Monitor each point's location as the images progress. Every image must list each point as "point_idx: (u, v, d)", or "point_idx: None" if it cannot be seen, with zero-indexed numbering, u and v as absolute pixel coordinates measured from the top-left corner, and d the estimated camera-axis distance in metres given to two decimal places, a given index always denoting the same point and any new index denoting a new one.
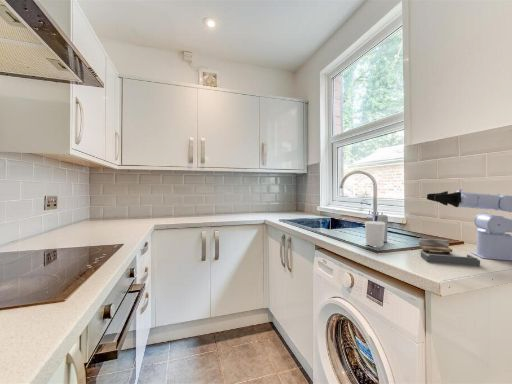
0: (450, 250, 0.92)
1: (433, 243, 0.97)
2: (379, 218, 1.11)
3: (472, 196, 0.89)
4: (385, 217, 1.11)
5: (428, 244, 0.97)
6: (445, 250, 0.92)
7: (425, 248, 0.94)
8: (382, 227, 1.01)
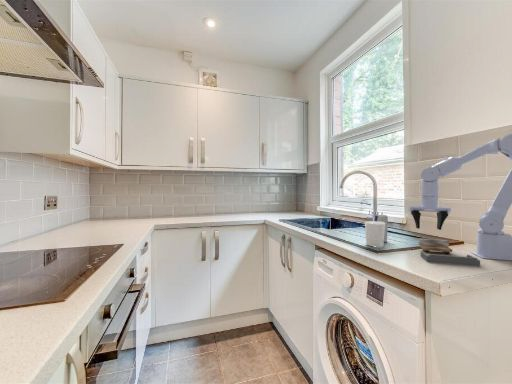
0: (450, 250, 0.92)
1: (433, 243, 0.97)
2: (379, 218, 1.11)
3: None
4: (385, 217, 1.11)
5: (428, 244, 0.97)
6: (445, 250, 0.92)
7: (425, 248, 0.94)
8: (382, 227, 1.01)
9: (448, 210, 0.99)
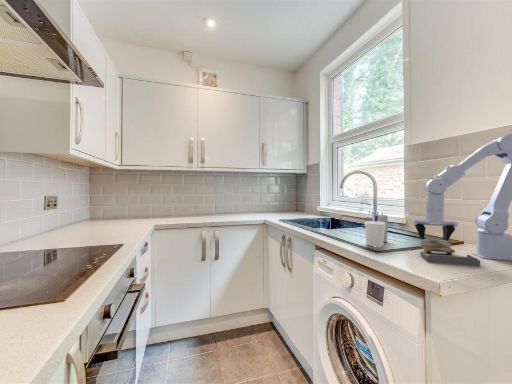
0: (452, 251, 0.90)
1: (435, 244, 0.95)
2: (379, 218, 1.11)
3: None
4: (385, 217, 1.11)
5: (430, 245, 0.96)
6: (447, 251, 0.90)
7: (427, 249, 0.92)
8: (382, 227, 1.01)
9: (455, 224, 0.94)
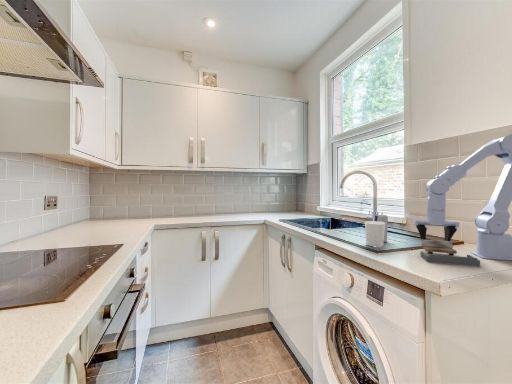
0: (454, 251, 0.88)
1: (436, 244, 0.94)
2: (379, 218, 1.11)
3: None
4: (385, 217, 1.11)
5: (431, 245, 0.94)
6: (449, 251, 0.89)
7: (428, 249, 0.91)
8: (382, 227, 1.01)
9: (456, 225, 0.93)
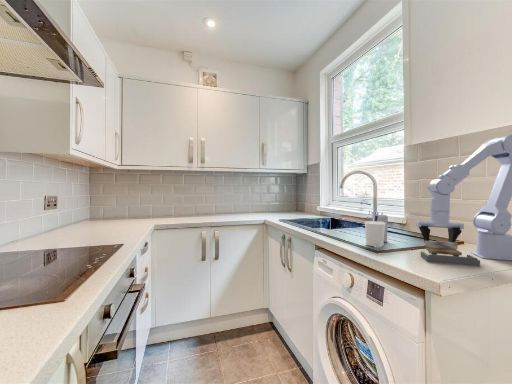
0: (459, 253, 0.85)
1: (440, 246, 0.90)
2: (379, 218, 1.11)
3: None
4: (385, 217, 1.11)
5: (435, 247, 0.91)
6: (454, 253, 0.85)
7: (432, 251, 0.87)
8: (382, 227, 1.01)
9: (461, 226, 0.89)
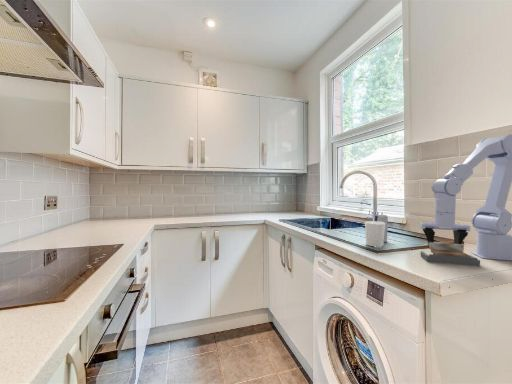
0: (466, 256, 0.81)
1: (446, 247, 0.86)
2: (379, 218, 1.11)
3: None
4: (385, 217, 1.11)
5: (440, 248, 0.87)
6: (460, 256, 0.81)
7: (437, 253, 0.83)
8: (382, 227, 1.01)
9: (467, 228, 0.85)
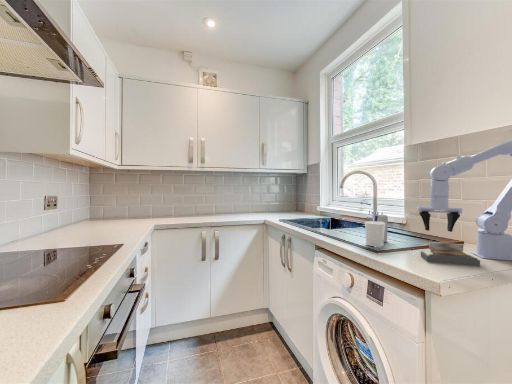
0: (465, 255, 0.81)
1: (445, 247, 0.86)
2: (379, 218, 1.11)
3: None
4: (385, 217, 1.11)
5: (440, 248, 0.87)
6: (460, 255, 0.82)
7: (437, 253, 0.84)
8: (382, 227, 1.01)
9: (459, 211, 0.94)
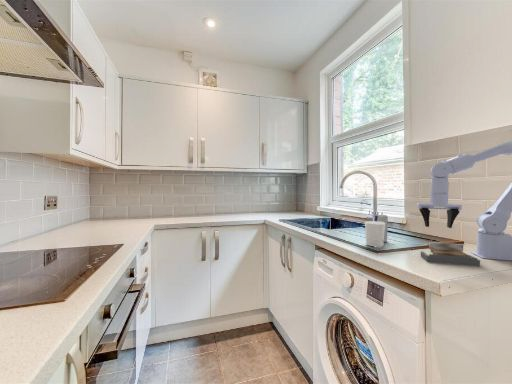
0: (465, 255, 0.81)
1: (445, 247, 0.86)
2: (379, 218, 1.11)
3: None
4: (385, 217, 1.11)
5: (440, 248, 0.87)
6: (460, 255, 0.82)
7: (437, 253, 0.84)
8: (382, 227, 1.01)
9: (459, 207, 0.95)
